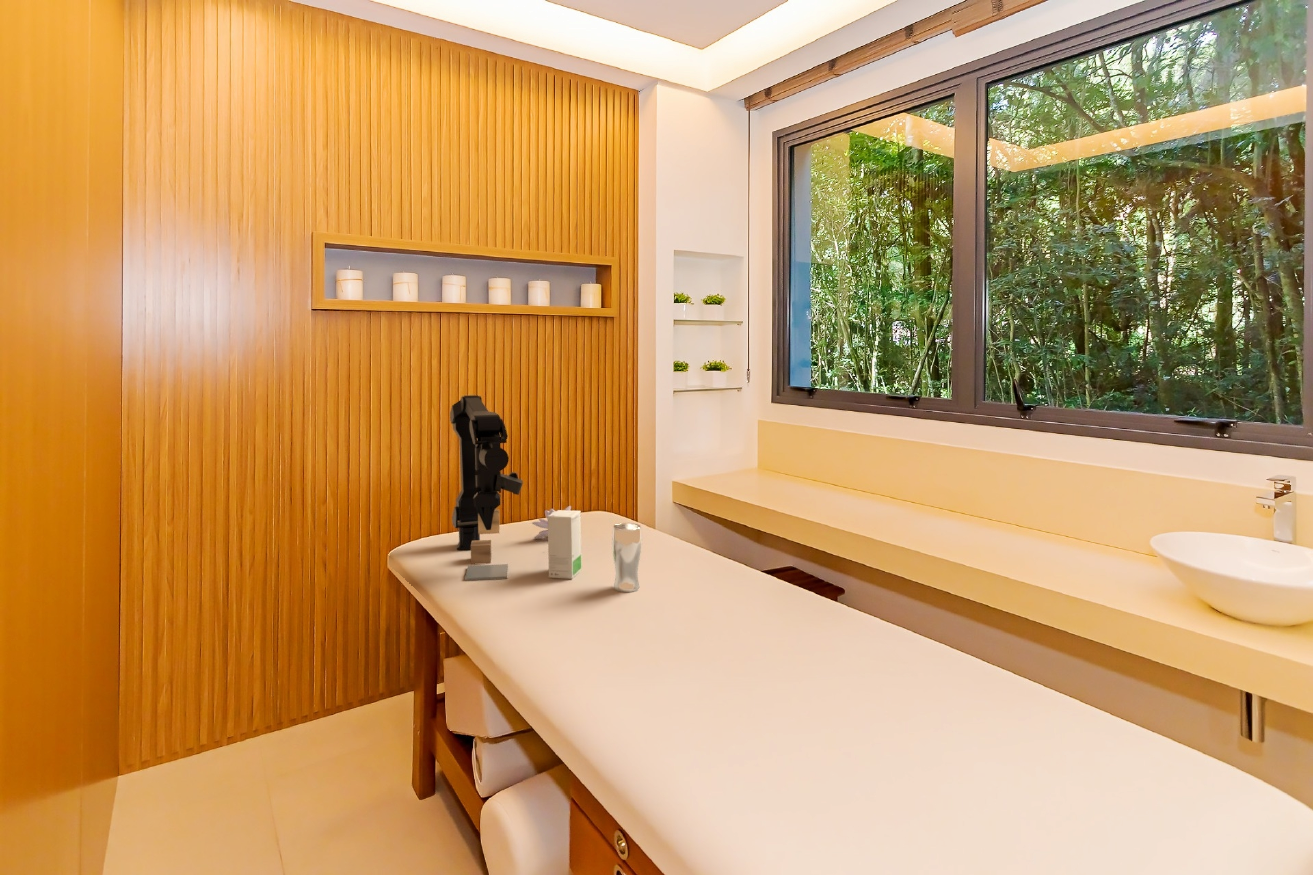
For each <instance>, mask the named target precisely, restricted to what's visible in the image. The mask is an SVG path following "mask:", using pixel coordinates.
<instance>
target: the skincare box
mask: <svg viewBox="0 0 1313 875" xmlns="http://www.w3.org/2000/svg"><path fill="white" fill-rule="evenodd" d="M581 512H582V511H581V510H571V509H570V510H564V509H563V510H562V509H557V510H555V512H553V513H552V514H550V515H549V516H548V519H547V521H548V529H547V530H548V535H547V544H548V545H547V547H548V548H547V549H548V551H547V552H548V553H547V554H548V578H550V579H563V580H565V579H567V580H568V579H569V580H573V579H574V578H575V577H576V576H577V575H578V574H579V573H580V572H581V571H582V568H583V567H582V532H581V531H582V524H581V521H582V518H581V516H582V514H581Z"/></svg>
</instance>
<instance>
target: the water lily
mask: <svg viewBox="0 0 1313 875" xmlns="http://www.w3.org/2000/svg"><path fill="white" fill-rule="evenodd" d="M571 509H572V506H571V505H569V506H567V507H565V508H564V509H563V510H570V511H571ZM553 512H556V510H554V508H550V509H549V510H546V509H545V510H544V514H545V515H544V516H545V518H546V519H547V520H546V519H544V518H539V519H538V521H533V522H531V524H532V525H534V526H536V527H538V528H541V529H545V530H540V531H539V532H538V534H536V535H535V536H534V537H533V540H538V539H539V540H540V539H541V538H545V537H548V516H549V515H550V514H552V513H553Z"/></svg>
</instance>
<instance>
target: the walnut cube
mask: <svg viewBox="0 0 1313 875" xmlns="http://www.w3.org/2000/svg"><path fill="white" fill-rule="evenodd" d="M475 563H486V564H492V540H491V539H483V540H482V539H480V540H475V541H472V542H471V549H470V565H476V564H475Z"/></svg>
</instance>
